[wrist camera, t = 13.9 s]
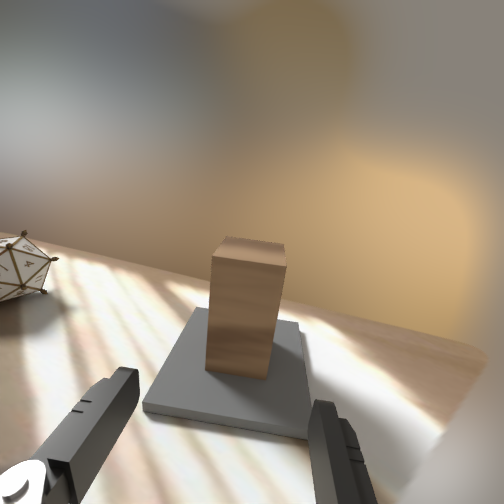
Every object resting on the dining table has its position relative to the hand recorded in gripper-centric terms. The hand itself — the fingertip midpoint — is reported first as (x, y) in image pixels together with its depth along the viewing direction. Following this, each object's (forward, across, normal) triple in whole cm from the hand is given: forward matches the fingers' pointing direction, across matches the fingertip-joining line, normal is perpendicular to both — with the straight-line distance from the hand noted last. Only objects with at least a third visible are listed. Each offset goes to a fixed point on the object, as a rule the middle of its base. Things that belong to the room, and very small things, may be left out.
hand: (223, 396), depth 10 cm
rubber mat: (+11, 0, +9) cm, 14 cm away
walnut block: (+11, 0, +8) cm, 13 cm away
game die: (+15, +29, +9) cm, 34 cm away
